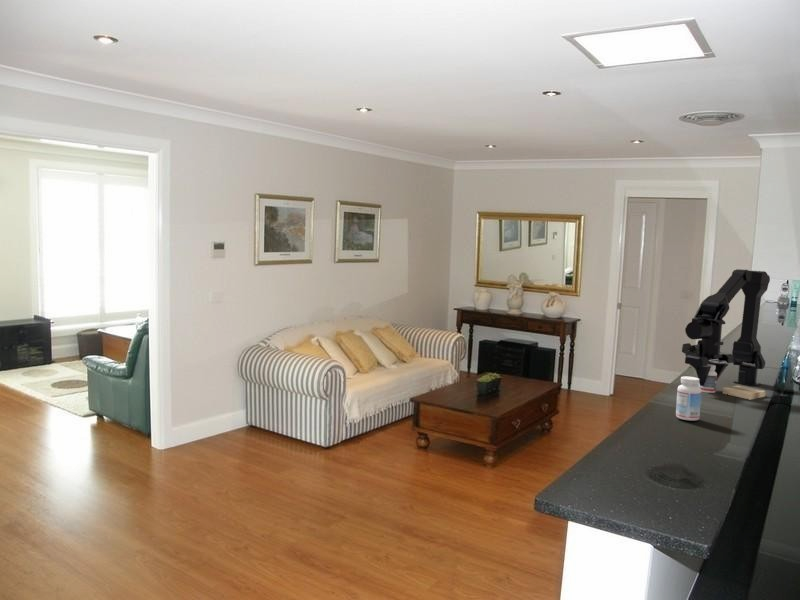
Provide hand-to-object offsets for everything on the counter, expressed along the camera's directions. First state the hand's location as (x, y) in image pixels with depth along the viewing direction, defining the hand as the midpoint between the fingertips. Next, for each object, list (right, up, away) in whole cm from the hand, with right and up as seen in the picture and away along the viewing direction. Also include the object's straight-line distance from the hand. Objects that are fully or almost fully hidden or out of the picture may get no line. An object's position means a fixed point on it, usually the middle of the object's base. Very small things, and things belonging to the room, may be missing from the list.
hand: (707, 384), depth 211 cm
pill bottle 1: (-23, -5, -35) cm, 42 cm away
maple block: (+10, -4, -4) cm, 11 cm away
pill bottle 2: (0, -2, 0) cm, 2 cm away
